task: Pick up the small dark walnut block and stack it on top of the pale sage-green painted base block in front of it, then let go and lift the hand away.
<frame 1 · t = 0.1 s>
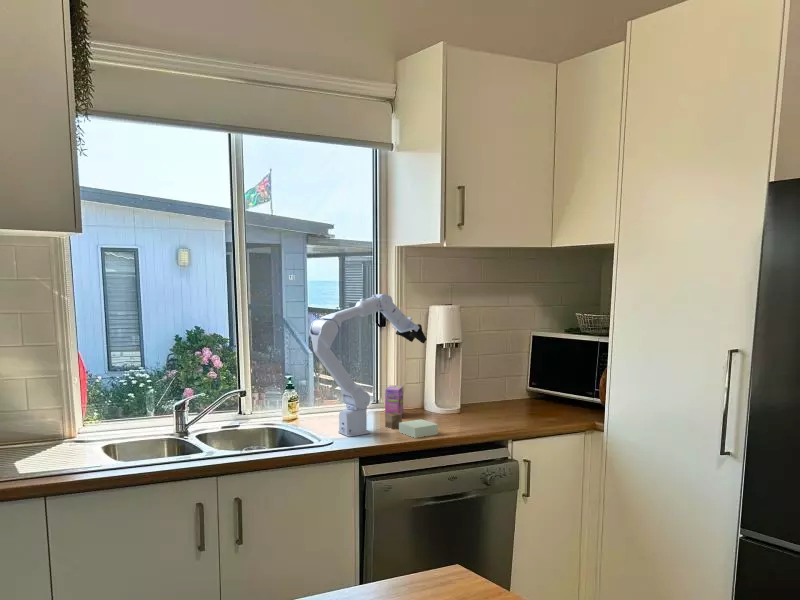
hand: (418, 340, 230), 32 cm above the countertop, tool tilted 50°, fingers open, 7 cm apart
base block: (418, 433, 214), on the countertop
box: (394, 416, 243), on the countertop
walnut block: (393, 427, 224), on the countertop
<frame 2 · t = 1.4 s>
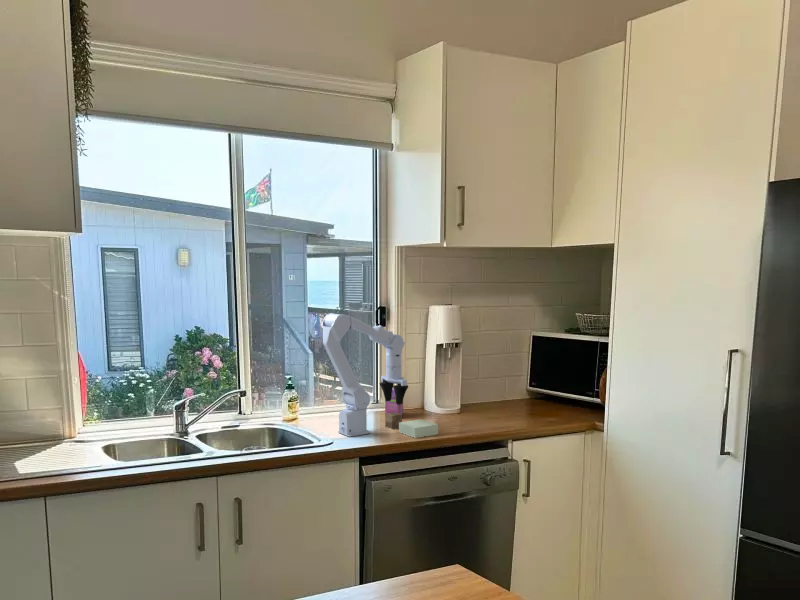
hand: (393, 402, 224), 9 cm above the countertop, tool pointing down, fingers open, 7 cm apart
nothing on the countertop moved.
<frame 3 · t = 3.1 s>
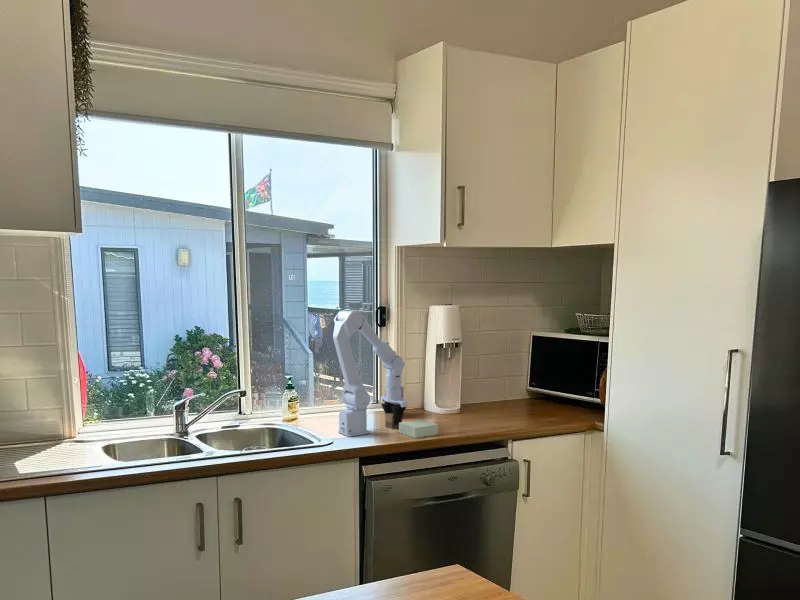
hand: (393, 423, 224), 1 cm above the countertop, tool pointing down, fingers closed on walnut block, 4 cm apart
walnut block: (393, 427, 224), on the countertop, touching gripper
everything else where it was.
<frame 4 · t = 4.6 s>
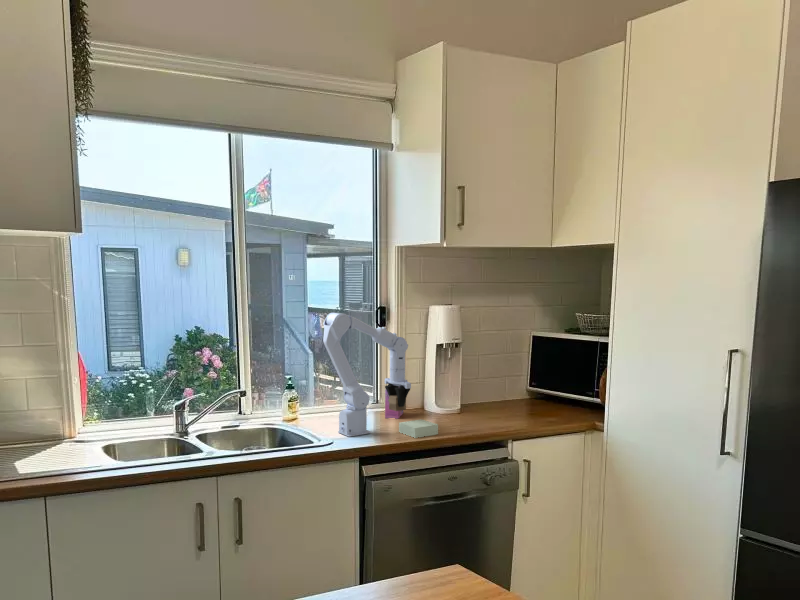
hand: (397, 405, 222), 8 cm above the countertop, tool pointing down, fingers closed on walnut block, 4 cm apart
walnut block: (397, 409, 222), point 7 cm above the countertop, touching gripper
everything else where it was.
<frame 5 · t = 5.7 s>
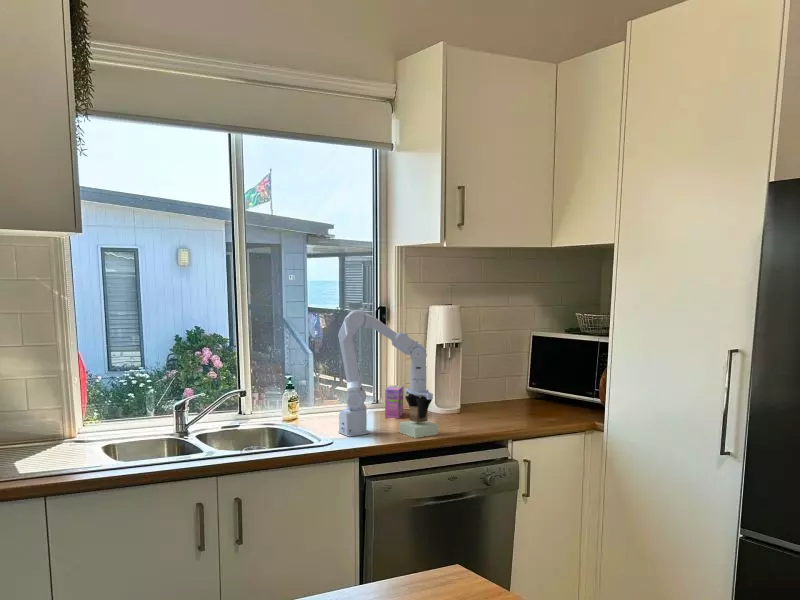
hand: (418, 416, 214), 6 cm above the countertop, tool pointing down, fingers closed on walnut block, 4 cm apart
walnut block: (418, 420, 214), point 5 cm above the countertop, touching gripper
everything else where it was.
when the fingers open (6 cm above the countertop, at t = 6.5 s): walnut block stays where it is, resting on base block.
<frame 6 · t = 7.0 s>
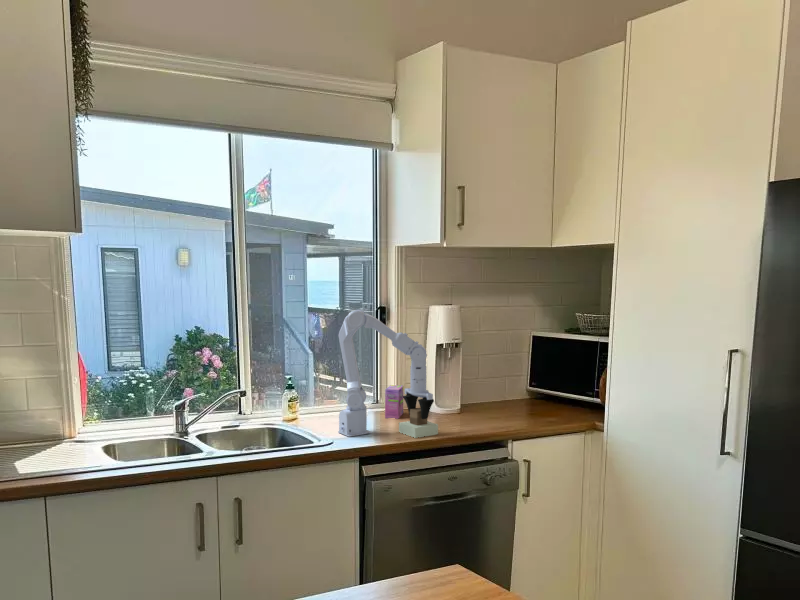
hand: (418, 416, 214), 6 cm above the countertop, tool pointing down, fingers open, 7 cm apart
walnut block: (418, 423, 214), point 3 cm above the countertop, touching base block
everything else where it was.
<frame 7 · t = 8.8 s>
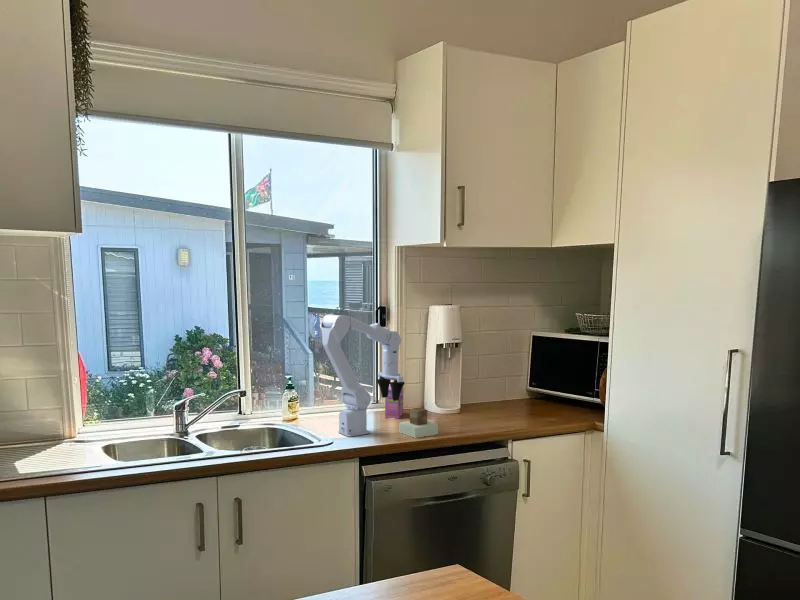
hand: (390, 398, 225), 10 cm above the countertop, tool pointing down, fingers open, 7 cm apart
nothing on the countertop moved.
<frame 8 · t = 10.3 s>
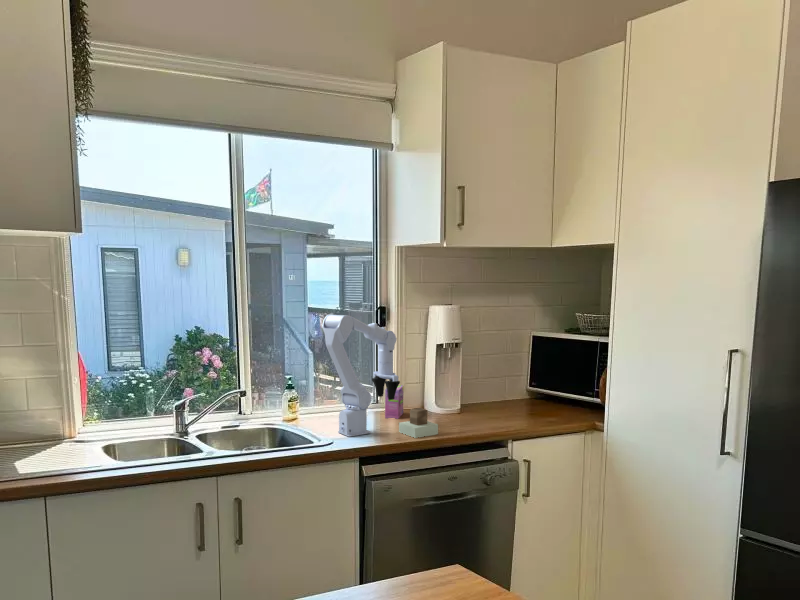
hand: (385, 397, 226), 10 cm above the countertop, tool pointing down, fingers open, 7 cm apart
nothing on the countertop moved.
at the end: walnut block 0.1 cm off-centre on the base block, point 3.5 cm above the base block's base; walnut block tilted 0°; the gripper is holding nothing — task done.
